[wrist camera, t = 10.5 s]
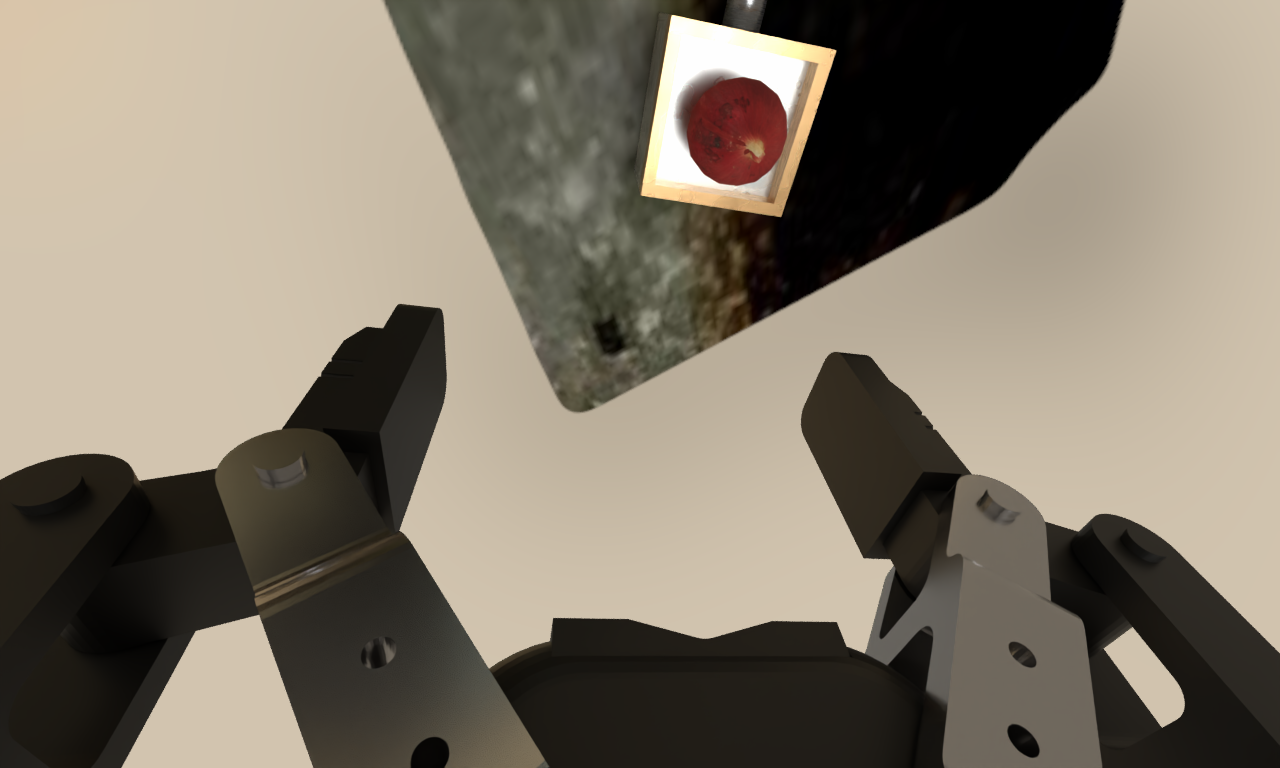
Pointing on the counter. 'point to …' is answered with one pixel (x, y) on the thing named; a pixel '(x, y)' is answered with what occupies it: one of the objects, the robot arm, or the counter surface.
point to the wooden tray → (698, 62)
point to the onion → (737, 131)
